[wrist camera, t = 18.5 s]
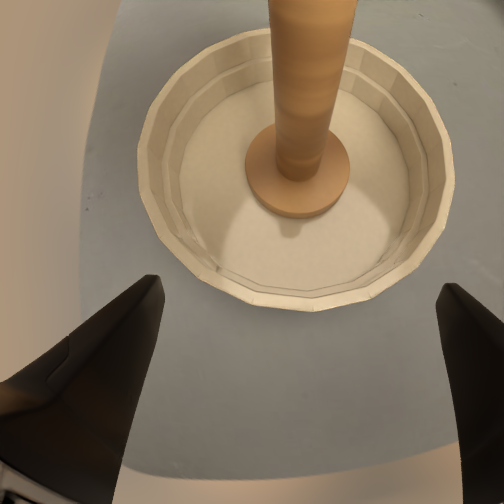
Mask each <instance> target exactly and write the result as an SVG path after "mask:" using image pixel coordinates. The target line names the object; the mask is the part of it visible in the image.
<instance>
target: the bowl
mask: <svg viewBox="0 0 504 504" xmlns="http://www.w3.org/2000/svg"><path fill="white" fill-rule="evenodd" d="M273 123H275V109H274V88H273V70H272V52H271V36H270V28H265V29H258V30H252V31H246V32H243V33H241V34H238V35H235V36H233V37H230V38H228V39H226V40H223V41H221V42H218V43H216V44H214V45H212V46H209V47H207V48H205V49H204V50H203V51H201V52H200V53H199V54H197V55H196V56H195V57H193V58H192V59H191V60H189V61H188V62H187V63H186V64H184V65H183V66H182V67H181V68H179V69H178V70H177V71H176V72H174V74H173V75H172V76H171V78H170V79H169V80H168V82H167V83H166V84H165V86H164V87H163V89H162V90H161V91H160V93H159V94H158V96H157V97H156V98H155V100H154V101H153V103H152V104H151V106H150V108H149V110H148V113H147V116H146V119H145V123H144V126H143V129H142V132H141V136H140V139H139V143H138V146H137V165H138V183H139V193H140V197H141V199H142V202H143V204H144V206H145V209H146V211H147V213H148V215H149V218H150V220H151V222H152V224H153V227H154V229H155V231H156V233H157V236H158V238H159V239H160V240H161V242H162V243H163V244H164V245H165V246H166V247H167V248H168V249H169V250H170V251H171V252H172V253H173V254H174V255H175V256H176V257H177V258H178V259H179V260H180V261H181V262H182V263H183V264H184V265H185V266H186V267H187V268H188V269H189V270H190V271H191V272H192V273H193V274H194V275H195V276H196V277H197V278H198V279H199V280H201V281H203V282H205V283H207V284H209V285H211V286H213V287H215V288H217V289H219V290H222V291H224V292H226V293H228V294H230V295H232V296H234V297H236V298H238V299H240V300H242V301H244V302H246V303H248V304H252V305H255V306H263V307H271V308H279V309H287V310H296V311H305V312H317V311H322V310H326V309H331V308H335V307H340V306H344V305H348V304H353V303H357V302H361V301H365V300H369V299H372V298H373V297H375V296H377V295H378V294H380V293H381V292H383V291H384V290H386V289H387V288H389V287H390V286H392V285H393V284H395V283H396V282H398V281H399V280H401V279H402V278H404V277H405V276H407V275H408V274H410V273H411V272H413V271H414V270H415V269H416V268H417V267H418V266H419V264H420V263H421V262H422V260H423V259H424V258H425V256H426V255H427V253H428V252H429V250H430V249H431V248H432V246H433V245H434V243H435V242H436V240H437V239H438V237H439V236H440V234H441V233H442V232H443V230H444V228H445V225H446V221H447V217H448V213H449V209H450V205H451V201H452V196H453V192H454V187H455V174H454V164H453V156H452V148H451V141H450V138H449V135H448V133H447V131H446V128H445V126H444V124H443V122H442V119H441V117H440V115H439V113H438V111H437V109H436V107H435V105H434V103H433V101H432V99H431V98H430V97H429V96H428V94H427V93H426V92H425V91H424V90H423V88H422V87H421V86H420V85H419V84H418V83H417V82H416V80H415V79H414V78H413V77H412V76H411V75H410V74H409V73H408V72H407V70H406V69H405V68H403V67H402V66H401V65H399V64H398V63H396V62H395V61H393V60H392V59H391V58H389V57H388V56H386V55H385V54H383V53H382V52H380V51H379V50H377V49H375V48H374V47H372V46H371V45H368V44H367V43H364V42H362V41H359V40H356V39H353V38H351V37H350V40H349V45H348V49H347V54H346V58H345V63H344V67H343V72H342V76H341V80H340V85H339V89H338V93H337V97H336V101H335V106H334V110H333V114H332V118H331V122H330V126H329V130H330V131H331V132H332V133H334V134H335V135H336V136H337V137H338V139H339V140H340V141H341V142H342V144H343V145H344V147H345V149H346V151H347V154H348V157H349V162H350V175H349V180H348V183H347V185H346V188H345V190H344V191H343V193H342V195H341V197H340V198H339V200H338V201H337V202H336V203H335V204H334V205H333V206H332V207H331V208H330V209H328V210H327V211H326V212H324V213H322V214H320V215H317V216H314V217H310V218H304V219H293V218H287V217H283V216H280V215H277V214H275V213H273V212H271V211H270V210H268V209H267V208H265V207H264V206H263V205H262V204H261V203H260V202H259V201H258V200H257V199H256V198H255V196H254V195H253V193H252V191H251V189H250V186H249V184H248V180H247V176H246V172H245V158H246V153H247V150H248V148H249V146H250V144H251V142H252V140H253V139H254V138H255V136H256V135H257V134H258V133H259V132H261V131H262V130H263V129H264V128H266V127H268V126H269V125H271V124H273Z"/></svg>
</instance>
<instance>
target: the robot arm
mask: <svg viewBox="0 0 504 504" xmlns="http://www.w3.org/2000/svg"><path fill="white" fill-rule="evenodd" d="M164 303H165V294H164V290H163V286H162V283H161V279H160V277H159V276H158V275H145V276H144V277H142V278H141V279H140V280H138V281H137V282H136V283H134V284H133V285H132V286H130V287H129V288H128V289H127V290H125V291H124V292H123V293H121V294H120V295H119V296H117V297H116V298H115V299H113V300H112V301H111V302H110V303H108V304H107V305H106V306H104V307H103V308H102V309H100V310H99V311H98V312H97V313H95V314H94V315H93V316H92V317H90V318H89V319H88V320H86V321H85V322H84V323H83V324H81V325H80V326H79V327H78V328H76V329H75V330H74V331H73V332H71V333H70V334H69V336H66V337H65V338H64V339H63V340H61V341H60V342H59V343H58V344H56V345H55V346H54V347H53V348H51V349H50V350H49V351H47V352H46V353H44V354H43V355H42V356H40V357H39V358H37V359H36V360H35V361H33V362H32V363H30V364H29V365H27V366H26V367H25V368H23V369H22V370H20V371H19V372H17V373H16V374H14V375H13V376H12V377H10V378H9V379H7V380H5V381H3V382H0V504H112V500H113V496H114V492H115V487H116V483H117V479H118V475H119V471H120V467H121V463H122V458H123V455H124V451H125V447H126V443H127V440H128V436H129V432H130V429H131V425H132V421H133V418H134V414H135V411H136V407H137V404H138V400H139V397H140V394H141V390H142V387H143V384H144V380H145V377H146V374H147V371H148V367H149V364H150V361H151V358H152V355H153V352H154V348H155V345H156V341H157V337H158V332H159V327H160V322H161V317H162V313H163V308H164ZM436 313H437V319H438V325H439V331H440V338H441V345H442V350H443V355H444V359H445V364H446V368H447V373H448V378H449V383H450V388H451V393H452V399H453V404H454V410H455V417H456V424H457V431H458V439H459V447H460V457H461V461H462V462H461V471H462V484H463V485H462V486H463V504H501V503H503V504H504V323H503V322H502V321H501V320H499V319H498V318H497V317H496V316H495V315H494V314H493V313H491V312H490V311H489V310H488V309H487V308H486V307H484V306H483V305H482V304H481V303H480V302H479V301H477V300H476V299H475V298H474V297H473V296H471V295H470V294H469V293H468V292H466V291H465V290H464V289H463V288H462V287H460V286H459V285H458V284H456V283H445V284H444V285H443V287H442V290H441V292H440V294H439V297H438V299H437V301H436Z"/></svg>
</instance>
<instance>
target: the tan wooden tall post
mask: <svg viewBox="0 0 504 504" xmlns="http://www.w3.org/2000/svg"><path fill="white" fill-rule="evenodd" d="M357 1H358V0H268V6H269V21H270V36H271V52H272V70H273V88H274V109H275V123H273V124H271V125H269V126H268V127H266V128H264V129H263V130H262V131H261V132H259V133H258V134H257V135H256V136H255V138H254V139H253V140H252V142H251V144H250V146H249V148H248V150H247V153H246V158H245V172H246V176H247V180H248V184H249V186H250V189H251V191H252V193H253V195H254V196H255V198H256V199H257V200H258V201H259V202H260V203H261V204H262V205H263V206H264V207H265V208H267V209H268V210H270V211H271V212H273V213H275V214H277V215H280V216H283V217H287V218H293V219H304V218H310V217H314V216H317V215H320V214H322V213H324V212H326V211H327V210H328V209H330V208H331V207H332V206H333V205H334V204H335V203H336V202H337V201H338V200H339V198H340V197H341V195H342V193H343V191H344V190H345V188H346V185H347V183H348V180H349V175H350V162H349V157H348V154H347V151H346V149H345V147H344V145H343V144H342V142H341V141H340V140H339V139H338V137H337V136H336V135H335V134H334V133H332V132H331V131H330V130H329V126H330V122H331V118H332V114H333V110H334V106H335V101H336V97H337V93H338V89H339V85H340V80H341V76H342V72H343V67H344V63H345V58H346V54H347V49H348V45H349V40H350V35H351V31H352V26H353V21H354V16H355V11H356V6H357Z"/></svg>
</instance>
